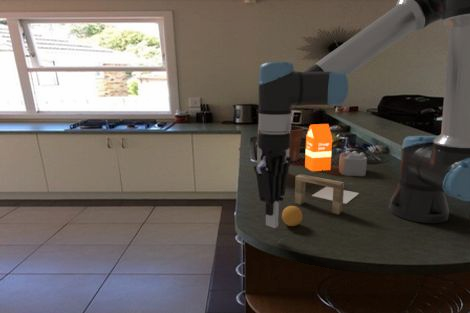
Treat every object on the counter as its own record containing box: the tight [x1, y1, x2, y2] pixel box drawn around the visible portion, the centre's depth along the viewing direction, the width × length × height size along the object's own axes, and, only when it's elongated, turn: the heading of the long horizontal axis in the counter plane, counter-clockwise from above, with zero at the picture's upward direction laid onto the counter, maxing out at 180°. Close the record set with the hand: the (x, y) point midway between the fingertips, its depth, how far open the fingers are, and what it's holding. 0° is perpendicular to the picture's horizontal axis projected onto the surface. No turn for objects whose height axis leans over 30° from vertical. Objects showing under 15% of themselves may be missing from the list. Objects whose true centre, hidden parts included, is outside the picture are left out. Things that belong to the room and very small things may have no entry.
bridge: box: [294, 173, 345, 215], centre depth 97 cm, size 3×14×9 cm, turn 50°
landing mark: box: [311, 186, 360, 205], centre depth 109 cm, size 12×12×1 cm
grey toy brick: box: [338, 150, 368, 177], centre depth 136 cm, size 10×13×9 cm
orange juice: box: [304, 123, 333, 172], centre depth 140 cm, size 8×9×20 cm
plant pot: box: [289, 125, 305, 162], centre depth 158 cm, size 16×16×16 cm
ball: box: [281, 205, 303, 227], centre depth 86 cm, size 6×6×6 cm
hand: (271, 225), depth 79 cm, fingers closed
